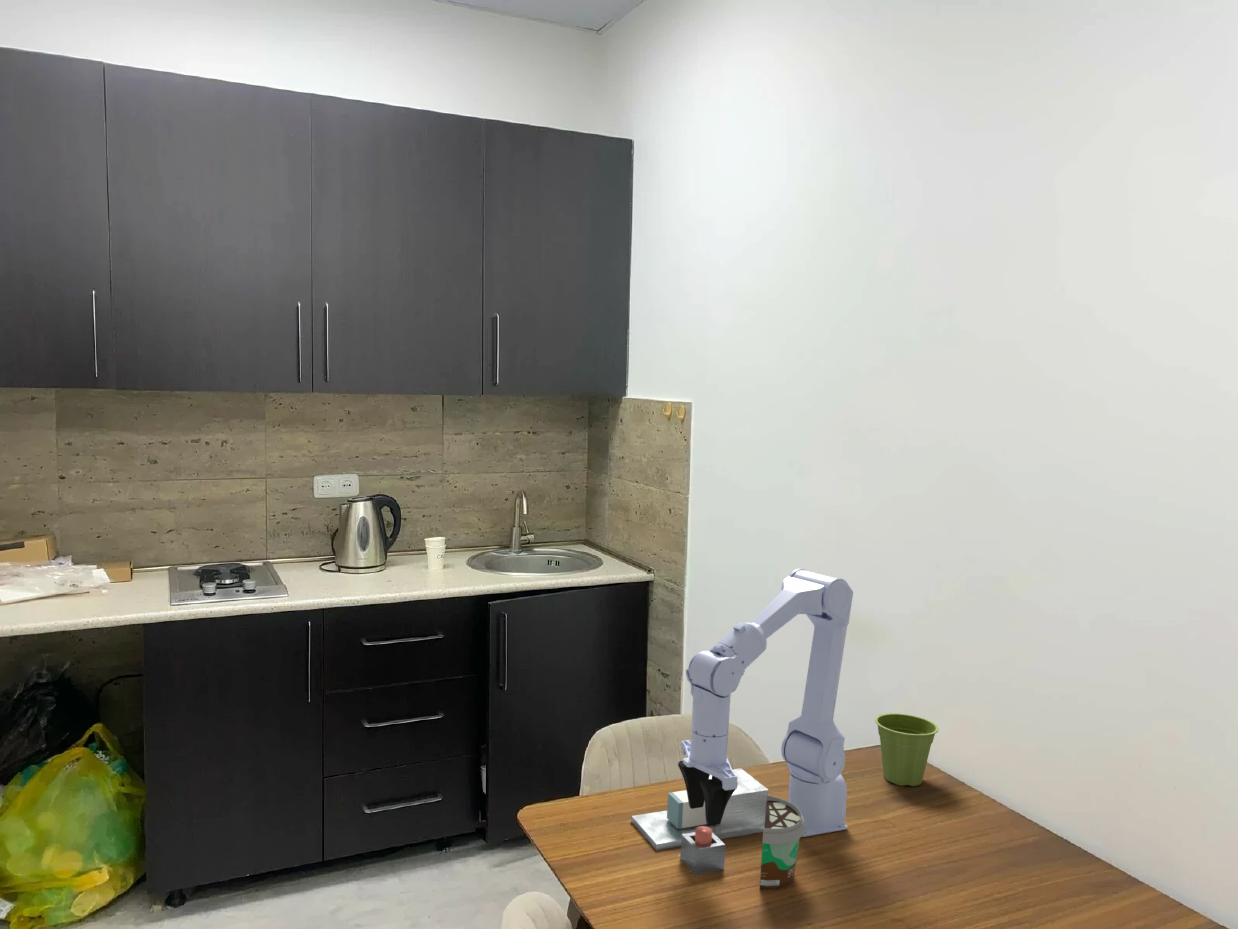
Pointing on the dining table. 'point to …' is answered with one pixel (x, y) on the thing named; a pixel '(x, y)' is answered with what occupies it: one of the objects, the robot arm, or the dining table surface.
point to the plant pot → (905, 746)
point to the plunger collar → (702, 854)
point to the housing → (737, 820)
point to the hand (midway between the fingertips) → (704, 815)
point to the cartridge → (684, 811)
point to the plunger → (703, 835)
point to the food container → (780, 843)
